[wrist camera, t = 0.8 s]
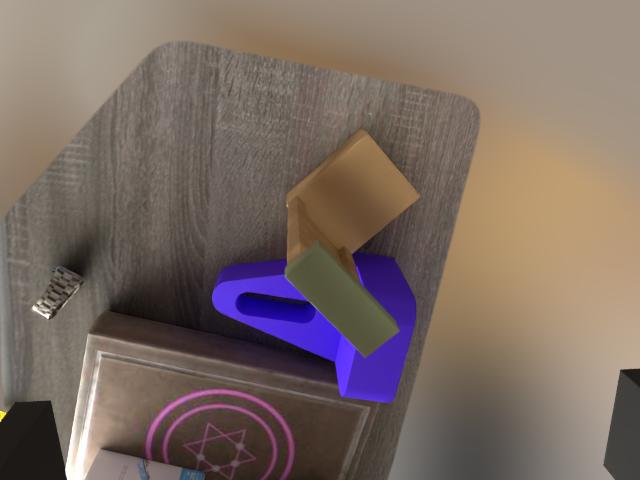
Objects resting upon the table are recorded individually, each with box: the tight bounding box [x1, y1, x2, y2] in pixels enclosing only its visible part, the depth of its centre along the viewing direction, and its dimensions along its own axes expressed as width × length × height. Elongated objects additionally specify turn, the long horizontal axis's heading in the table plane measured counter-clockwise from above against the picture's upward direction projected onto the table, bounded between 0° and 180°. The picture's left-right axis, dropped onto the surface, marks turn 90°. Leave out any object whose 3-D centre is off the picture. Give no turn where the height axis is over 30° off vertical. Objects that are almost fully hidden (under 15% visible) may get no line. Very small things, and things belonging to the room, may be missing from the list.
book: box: [66, 311, 381, 480], centre depth 59 cm, size 30×22×5 cm
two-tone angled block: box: [285, 128, 421, 358], centre depth 43 cm, size 10×8×22 cm
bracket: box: [212, 252, 416, 403], centre depth 51 cm, size 18×11×12 cm, turn 79°
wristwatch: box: [31, 266, 84, 320], centre depth 53 cm, size 3×5×5 cm
